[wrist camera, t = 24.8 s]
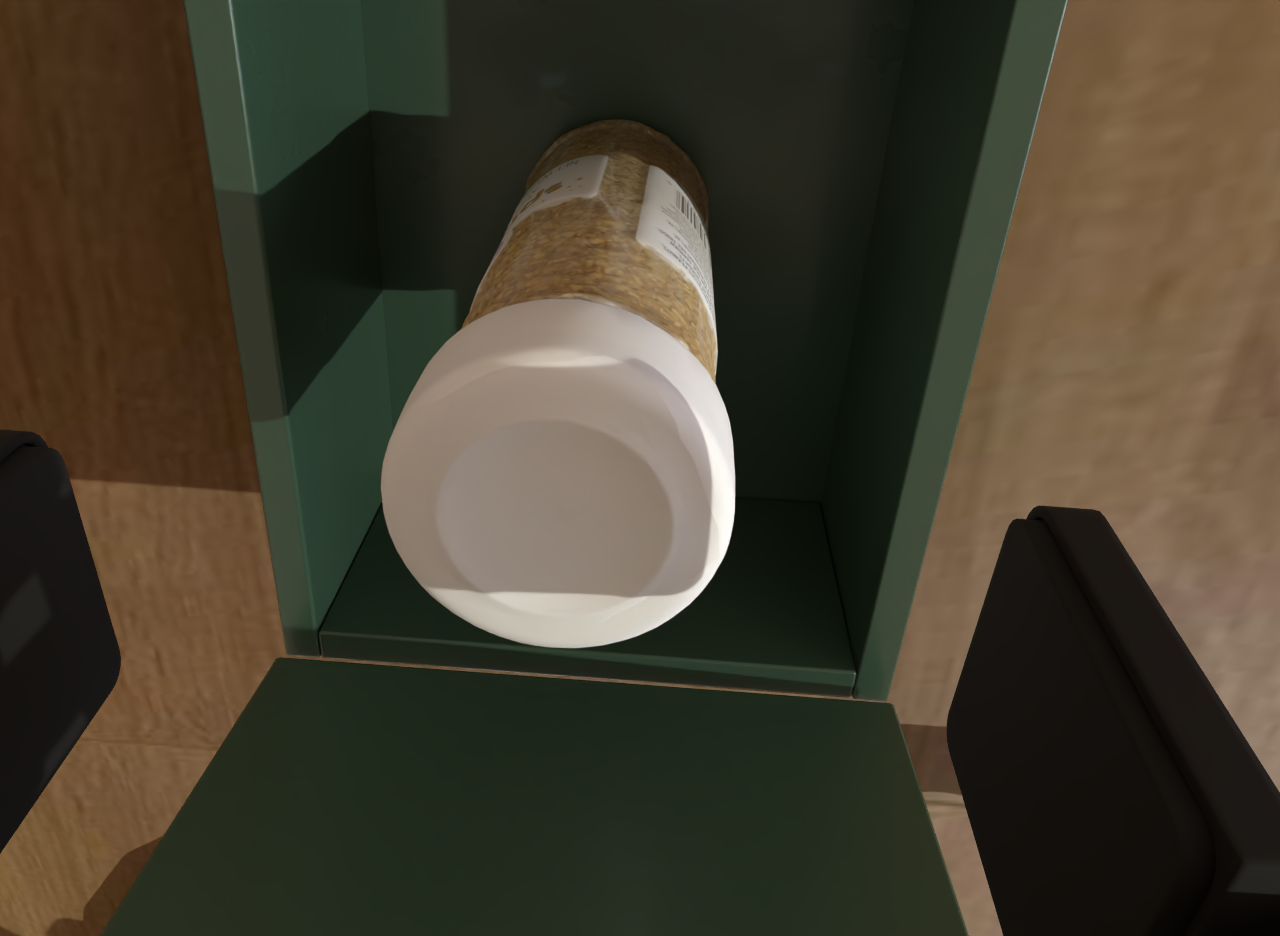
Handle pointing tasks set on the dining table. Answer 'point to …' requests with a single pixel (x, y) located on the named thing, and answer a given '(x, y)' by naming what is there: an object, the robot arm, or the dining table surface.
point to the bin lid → (545, 814)
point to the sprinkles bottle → (575, 409)
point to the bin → (741, 272)
